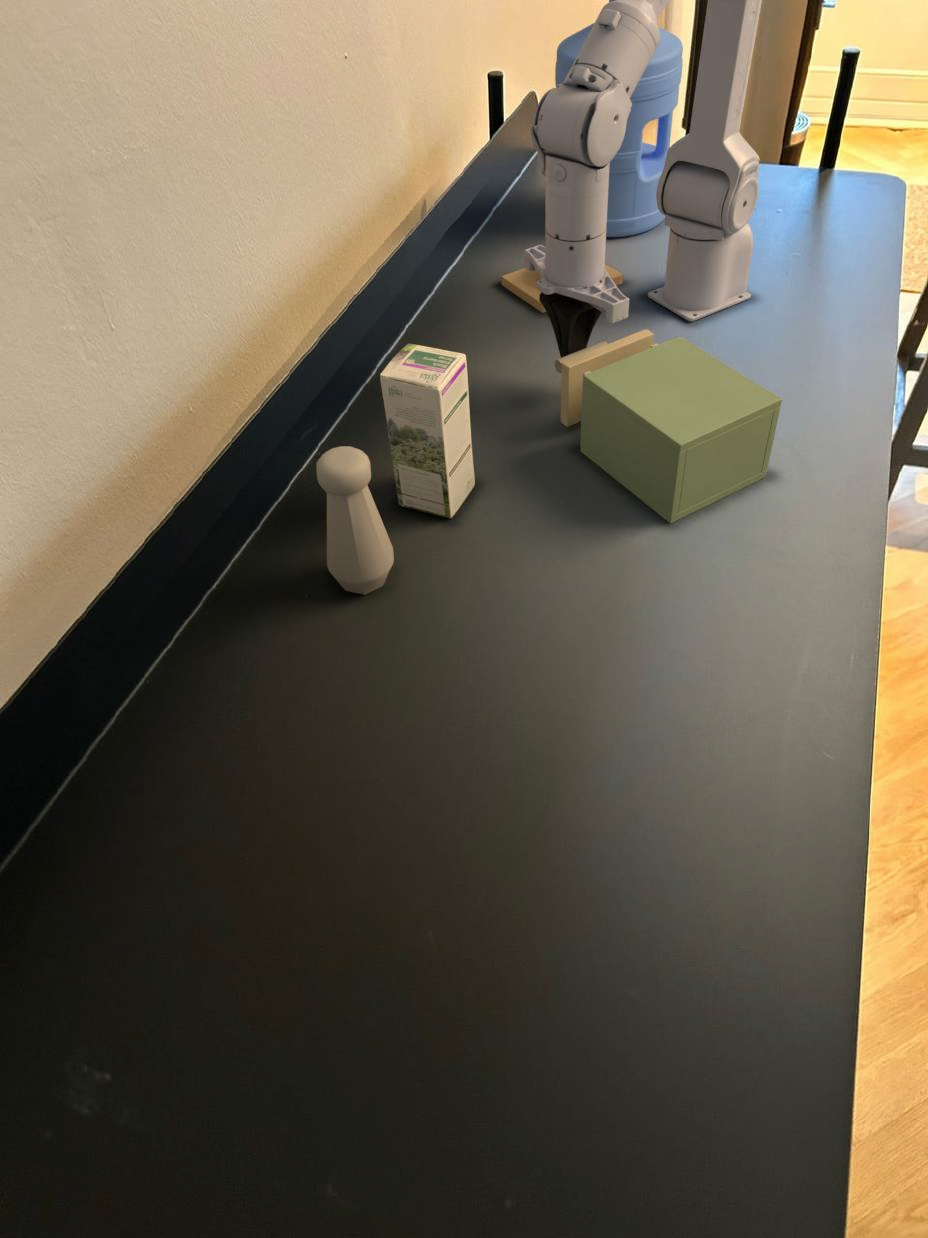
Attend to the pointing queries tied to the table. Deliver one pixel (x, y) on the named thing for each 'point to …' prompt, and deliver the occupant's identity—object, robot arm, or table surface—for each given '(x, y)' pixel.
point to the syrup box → (429, 428)
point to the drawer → (593, 369)
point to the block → (526, 284)
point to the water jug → (637, 134)
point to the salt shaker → (353, 522)
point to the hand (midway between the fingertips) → (572, 357)
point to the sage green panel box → (677, 427)
